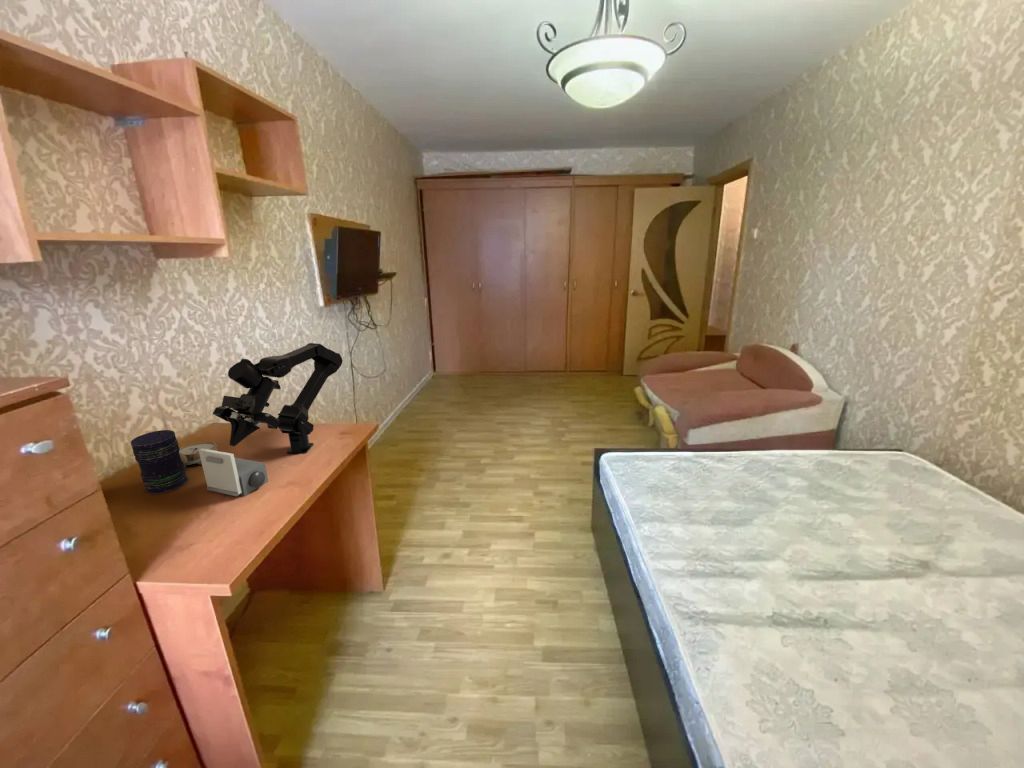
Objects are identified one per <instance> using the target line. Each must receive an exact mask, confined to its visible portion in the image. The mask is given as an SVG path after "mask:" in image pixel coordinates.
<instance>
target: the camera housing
mask: <svg viewBox="0 0 1024 768" xmlns="http://www.w3.org/2000/svg"><path fill="white" fill-rule="evenodd" d="M234 458H235V463H236V468H237V472H238V477H239V481H240V486H241V490H242V493H240V494H239V495H238V496H244V497H246V496H248V495H249V494H250V493H252V492H254V491H255V490H257V489H259V488H260V487H262V486H263V485H265V484H266V483H268V482H269V478H268V473H267V467H266V464H265V462H261V461H255V460H250V459H246V458H245V459H244V458H240V457H239V458H238V457H234Z"/></svg>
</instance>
